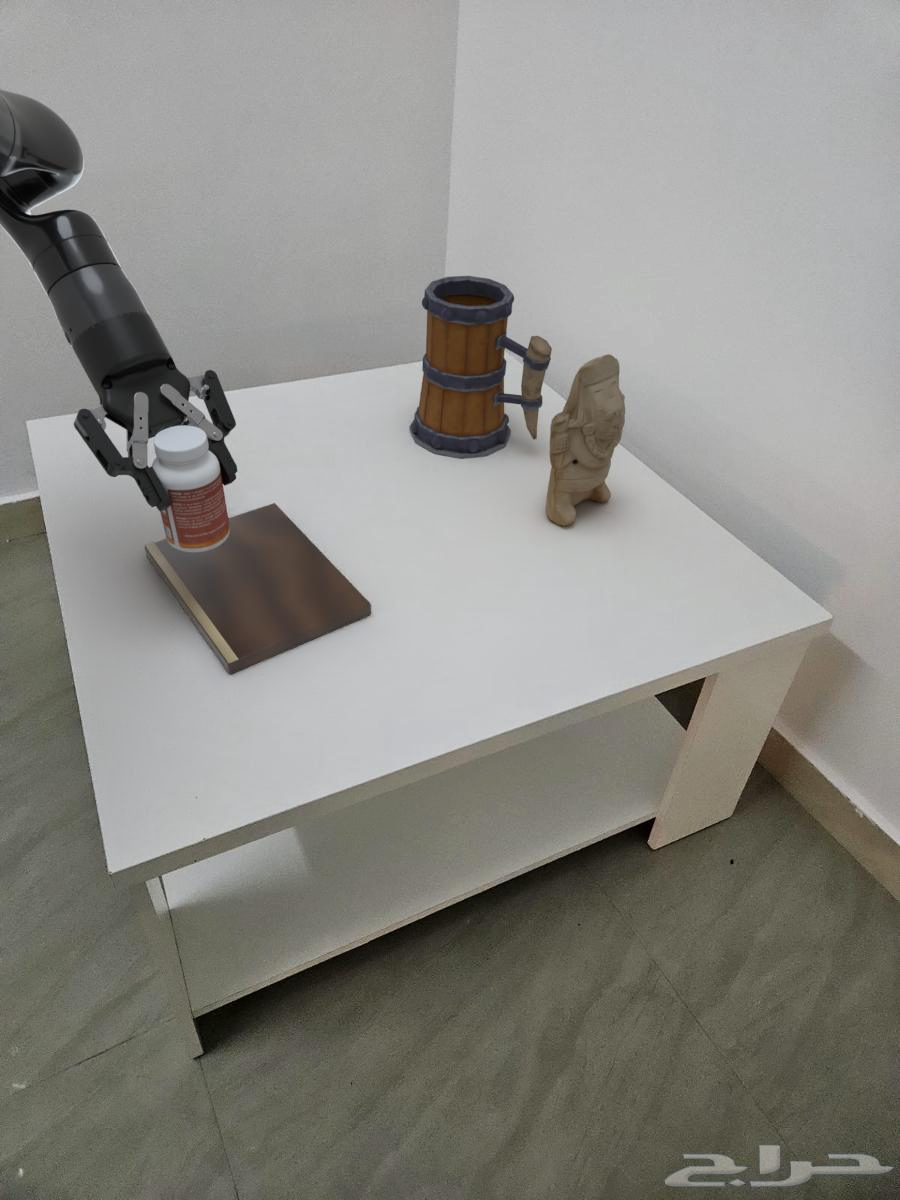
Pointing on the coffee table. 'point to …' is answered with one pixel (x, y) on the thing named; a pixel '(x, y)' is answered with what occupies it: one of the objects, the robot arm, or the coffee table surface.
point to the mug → (473, 369)
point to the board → (259, 588)
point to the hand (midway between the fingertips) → (198, 494)
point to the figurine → (585, 439)
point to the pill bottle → (191, 489)
